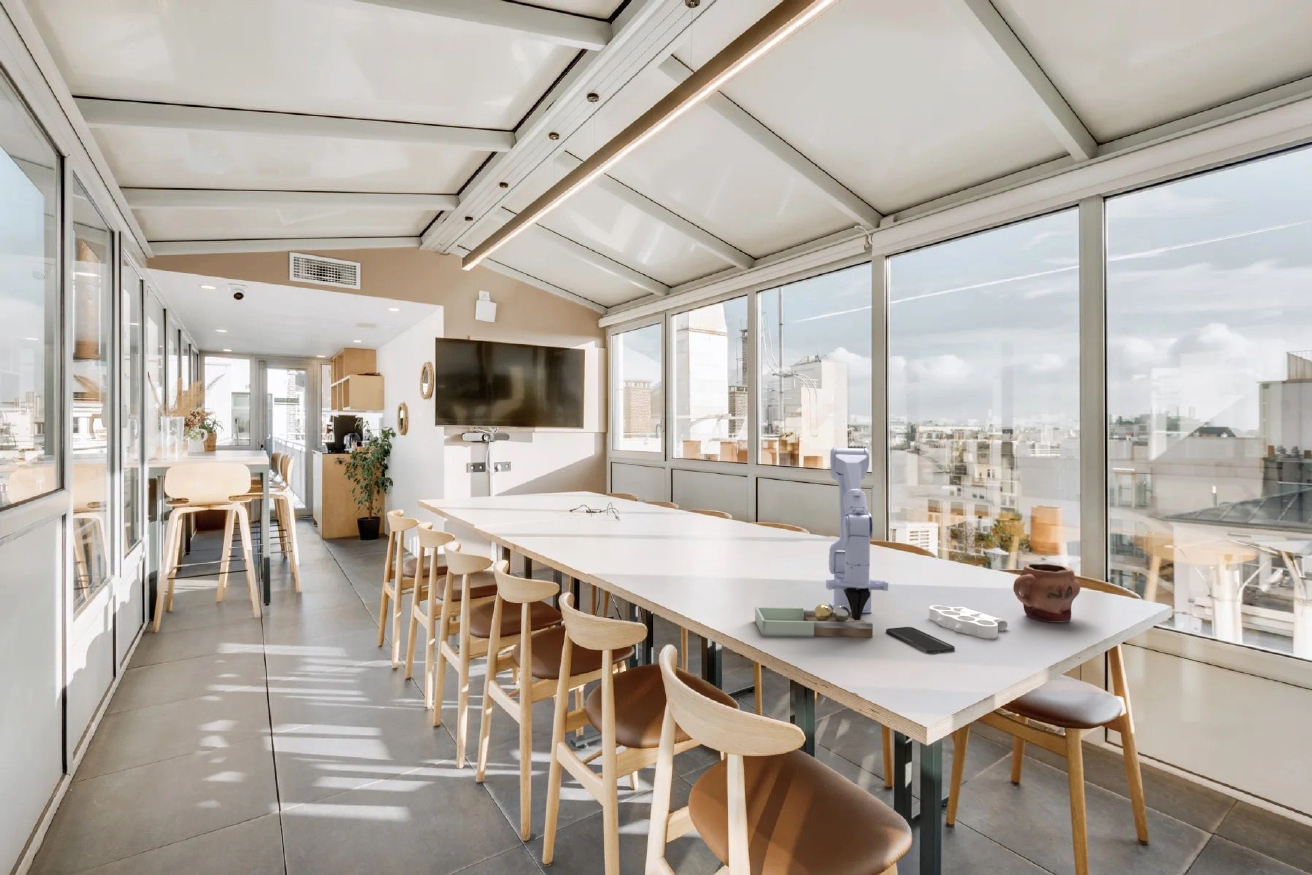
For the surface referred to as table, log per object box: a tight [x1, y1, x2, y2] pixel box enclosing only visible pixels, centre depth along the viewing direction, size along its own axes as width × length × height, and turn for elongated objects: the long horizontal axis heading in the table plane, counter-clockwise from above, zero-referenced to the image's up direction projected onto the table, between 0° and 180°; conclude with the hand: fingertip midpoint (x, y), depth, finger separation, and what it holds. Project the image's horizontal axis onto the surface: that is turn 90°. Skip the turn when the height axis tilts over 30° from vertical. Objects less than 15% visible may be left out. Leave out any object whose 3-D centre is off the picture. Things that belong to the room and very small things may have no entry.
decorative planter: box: [1012, 563, 1081, 623], centre depth 158 cm, size 20×12×14 cm, turn 112°
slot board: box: [803, 609, 874, 638], centre depth 147 cm, size 14×10×3 cm
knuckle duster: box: [928, 604, 1008, 640], centre depth 152 cm, size 3×18×15 cm
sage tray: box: [754, 606, 815, 638], centre depth 147 cm, size 12×12×4 cm
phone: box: [885, 626, 956, 655], centre depth 140 cm, size 8×1×15 cm
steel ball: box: [832, 605, 850, 622], centre depth 147 cm, size 4×4×4 cm
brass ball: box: [813, 604, 832, 621], centre depth 147 cm, size 4×4×4 cm
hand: (856, 618), depth 147 cm, fingers closed
